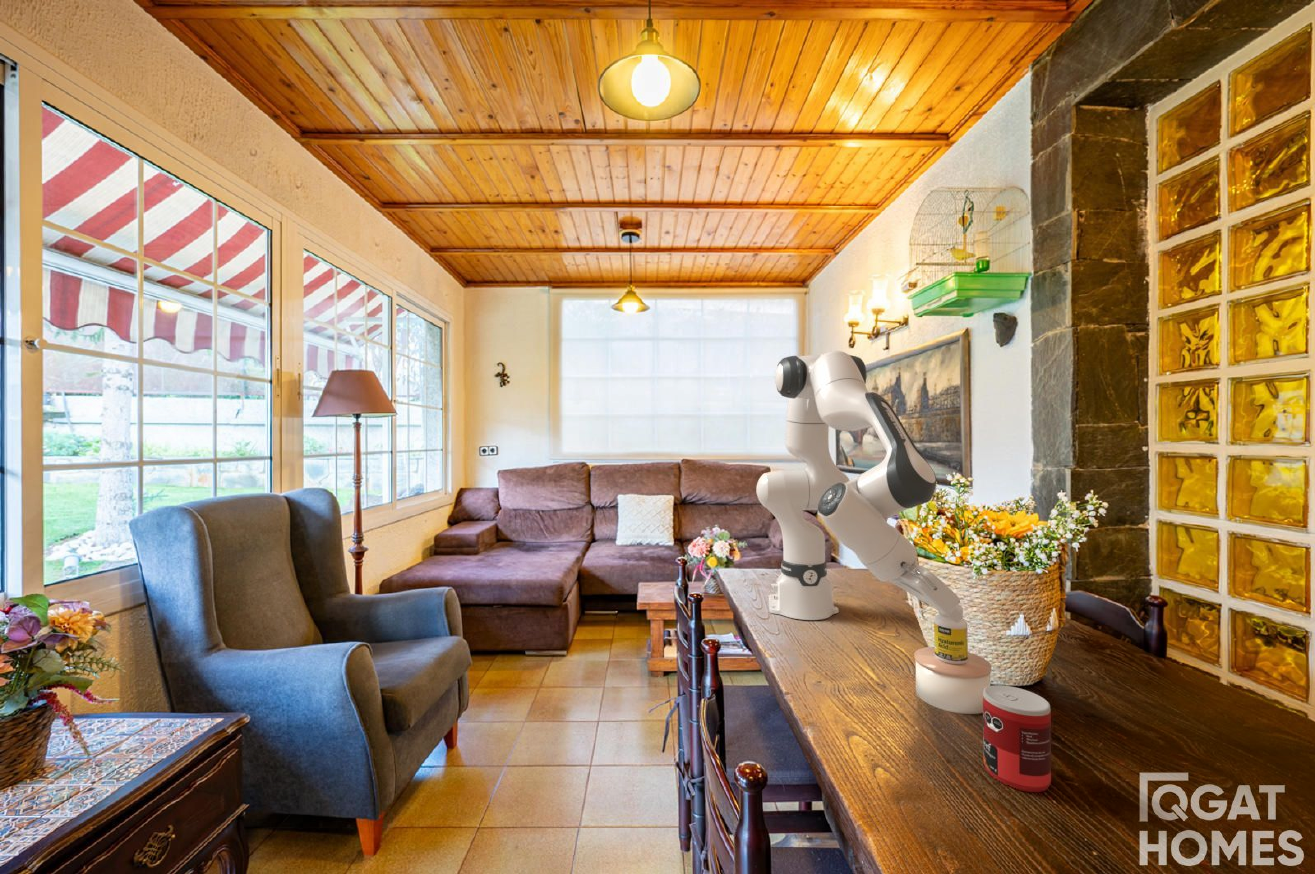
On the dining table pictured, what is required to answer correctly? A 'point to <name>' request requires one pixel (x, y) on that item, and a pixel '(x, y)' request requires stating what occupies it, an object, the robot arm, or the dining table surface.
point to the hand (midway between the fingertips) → (943, 610)
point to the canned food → (1017, 737)
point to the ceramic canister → (951, 682)
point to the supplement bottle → (950, 639)
